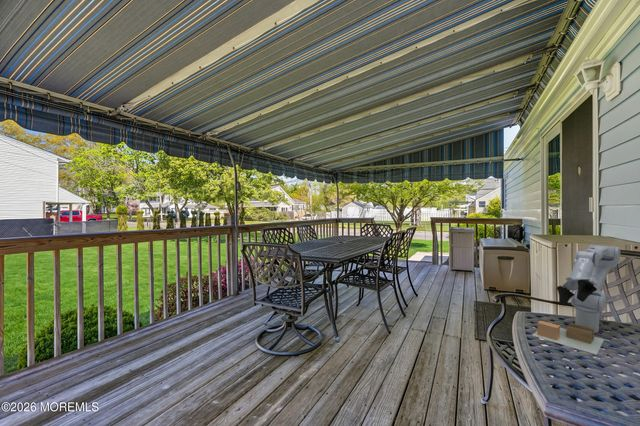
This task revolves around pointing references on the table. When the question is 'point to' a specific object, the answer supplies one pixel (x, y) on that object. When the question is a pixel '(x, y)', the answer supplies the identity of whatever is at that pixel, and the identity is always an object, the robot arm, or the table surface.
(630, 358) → the table surface
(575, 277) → the robot arm
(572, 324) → the walnut block
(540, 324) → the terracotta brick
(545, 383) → the table surface
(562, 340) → the baseplate
